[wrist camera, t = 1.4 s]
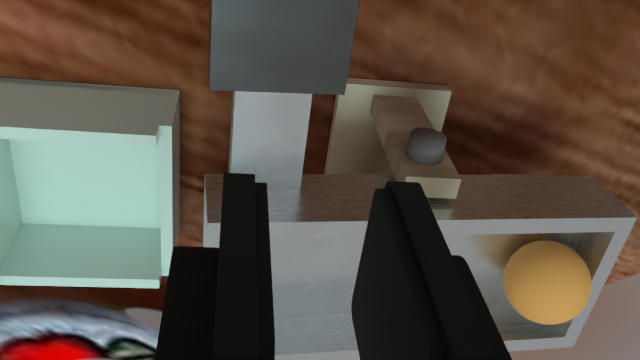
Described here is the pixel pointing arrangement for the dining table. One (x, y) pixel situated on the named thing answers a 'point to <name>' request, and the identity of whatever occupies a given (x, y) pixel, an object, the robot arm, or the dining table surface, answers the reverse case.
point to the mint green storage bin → (88, 183)
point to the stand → (393, 134)
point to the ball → (547, 282)
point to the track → (372, 187)
